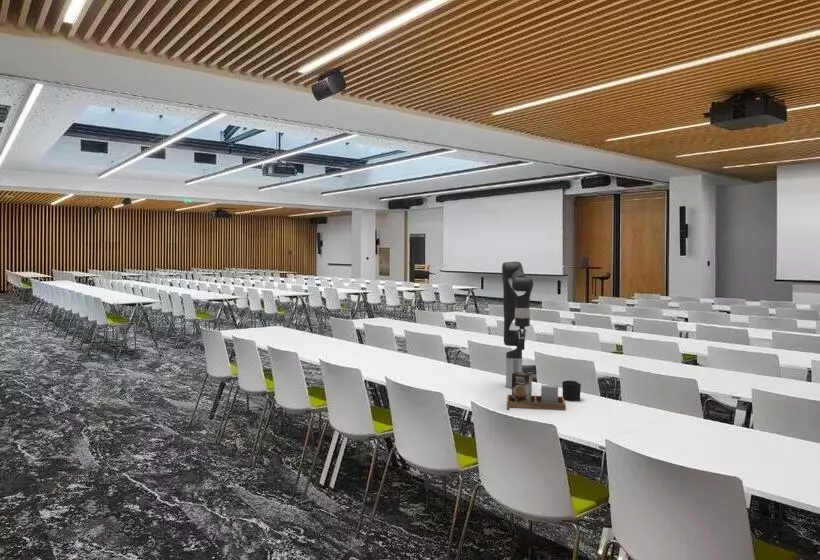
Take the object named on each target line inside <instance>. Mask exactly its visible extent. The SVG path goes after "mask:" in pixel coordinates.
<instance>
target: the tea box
mask: <svg viewBox="0 0 820 560" xmlns="http://www.w3.org/2000/svg"><path fill="white" fill-rule="evenodd" d="M540 388H541V389H540V394H541V395H540V396H541V403H557V404H558V397H559V386H558V385H554V384H553V385H552V384H541V387H540Z"/></svg>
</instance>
